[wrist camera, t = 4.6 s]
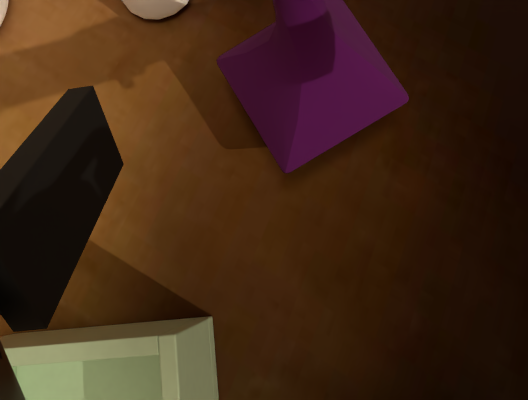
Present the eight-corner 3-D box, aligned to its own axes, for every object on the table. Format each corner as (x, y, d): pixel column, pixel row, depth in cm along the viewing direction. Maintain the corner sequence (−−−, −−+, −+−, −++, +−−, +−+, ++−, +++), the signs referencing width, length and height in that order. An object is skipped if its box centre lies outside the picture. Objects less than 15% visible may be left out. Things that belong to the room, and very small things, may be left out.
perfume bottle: (226, 82, 28) (73, -217, 11) (332, 18, 28) (353, -396, 11) (288, 185, 27) (232, 37, 9) (400, 119, 27) (555, -160, 9)
